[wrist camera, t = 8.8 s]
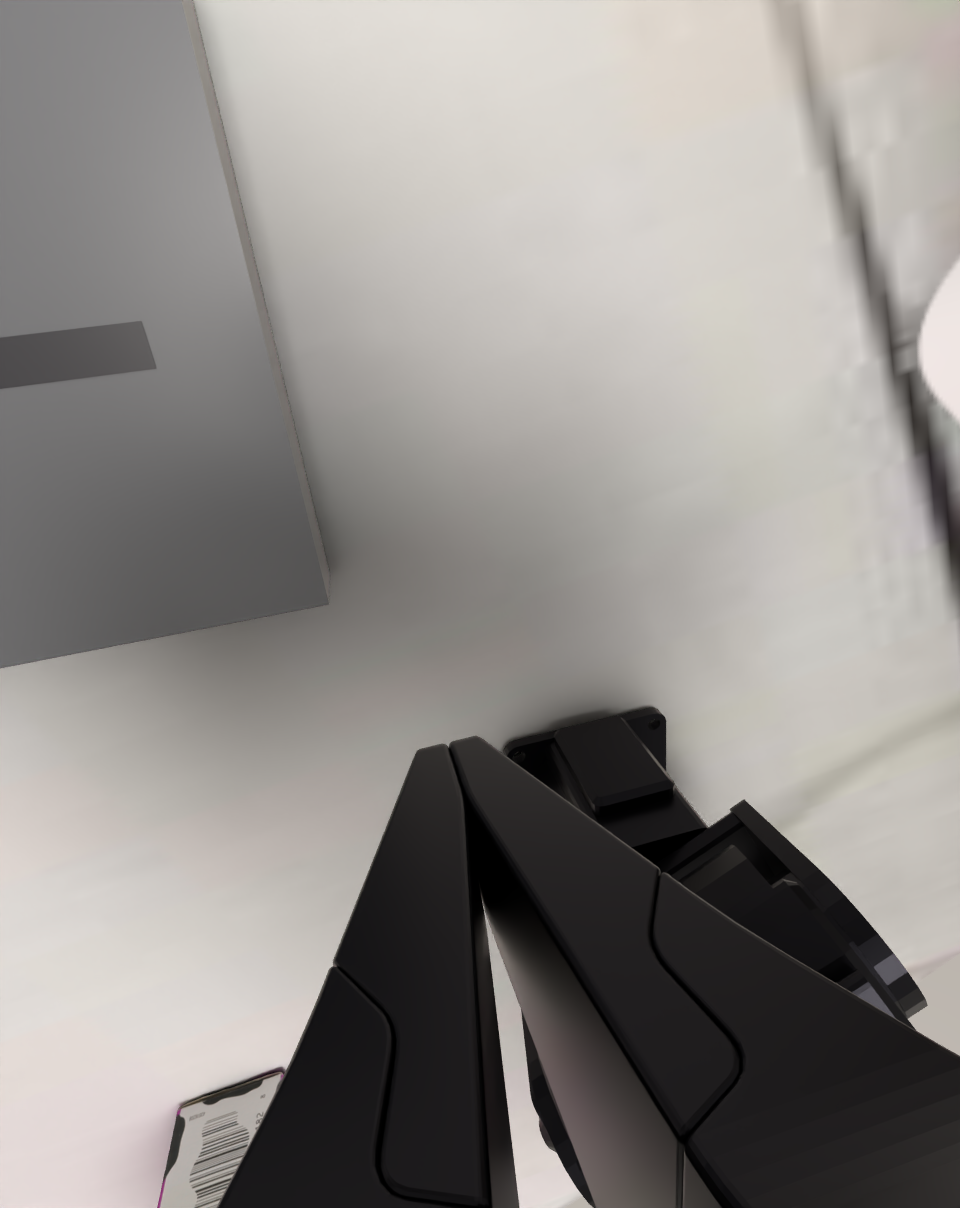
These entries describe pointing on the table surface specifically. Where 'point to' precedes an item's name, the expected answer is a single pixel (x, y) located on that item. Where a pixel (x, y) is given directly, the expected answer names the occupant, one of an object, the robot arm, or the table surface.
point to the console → (134, 347)
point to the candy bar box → (213, 1142)
